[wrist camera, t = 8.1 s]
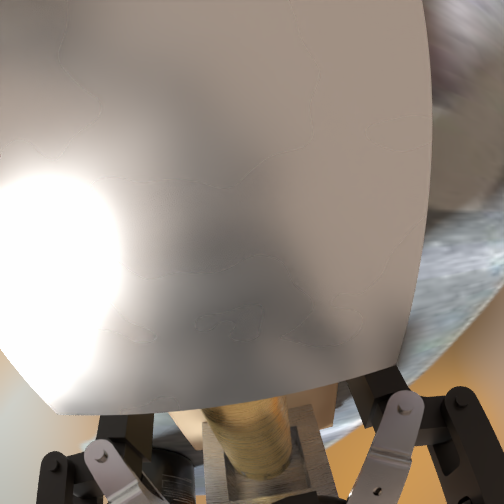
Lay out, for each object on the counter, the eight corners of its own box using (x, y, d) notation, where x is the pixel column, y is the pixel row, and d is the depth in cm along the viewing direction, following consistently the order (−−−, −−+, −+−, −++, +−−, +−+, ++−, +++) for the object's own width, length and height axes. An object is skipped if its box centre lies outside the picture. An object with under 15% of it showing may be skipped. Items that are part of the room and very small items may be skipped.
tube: (114, 111, 7) (63, 132, 4) (236, 82, 7) (253, 83, 4) (228, 433, 15) (233, 484, 13) (286, 423, 16) (298, 474, 13)
